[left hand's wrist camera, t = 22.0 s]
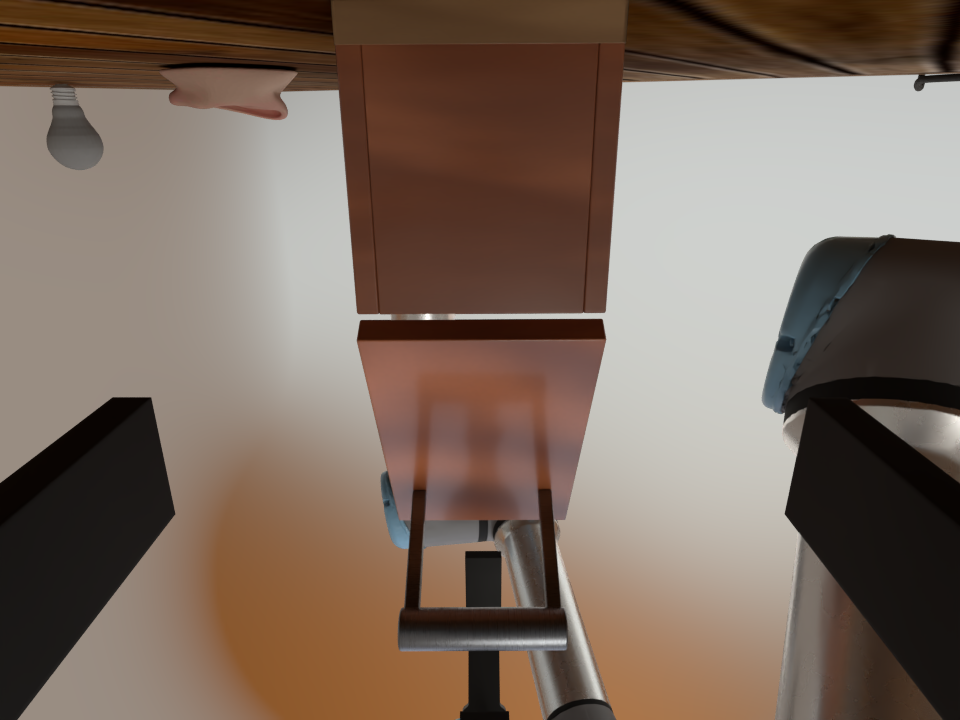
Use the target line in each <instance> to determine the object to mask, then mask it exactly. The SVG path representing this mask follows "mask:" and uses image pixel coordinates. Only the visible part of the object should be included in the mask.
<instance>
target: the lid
mask: <svg viewBox="0 0 960 720" xmlns="http://www.w3.org/2000/svg"><path fill="white" fill-rule="evenodd" d="M605 343H606V335H605V329H604V324H603V320H602V319H487V320H486V319H485V320H484V319H483V320H361V321H360V324H359V330H358V337H357V344H358V348H359V352H360V356H361V360H362V365H363V369H364V373H365V377H366V382H367V386H368V390H369V394H370V399H371V403H372V407H373V411H374V416H375V420H376V424H377V428H378V433H379V437H380V441H381V445H382V450H383V454H384V458H385V462H386V466H387V471H388V475H389V479H390V483H391V488H392V492H393V496H394V500H395V505H396V509H397V513H398V517H399V520H400V521H401V520H411V521H410V535H409V549H408V563H407V577H406V591H405V605H404V608H401V610H400V614H399V621H398V647H399V650H400V651H538V650H567V647H568V623H567V615H566V610H565V608H564V607H561V597H560V585H559V573H558V561H557V550H556V538H555V526H554V520H565V518H566V514H567V510H568V505H569V501H570V496H571V492H572V488H573V483H574V479H575V474H576V470H577V466H578V461H579V457H580V452H581V448H582V444H583V439H584V435H585V431H586V426H587V422H588V417H589V413H590V408H591V404H592V400H593V395H594V391H595V387H596V382H597V378H598V373H599V369H600V365H601V360H602V356H603V351H604V347H605ZM425 520H539V521H540V536H541V550H542V565H543V580H544V594H545V607H440V608H439V607H437V608H436V607H435V608H420V602H421V584H422V566H423V549H424V531H425Z"/></svg>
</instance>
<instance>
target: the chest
mask: <svg viewBox="0 0 960 720" xmlns="http://www.w3.org/2000/svg"><path fill="white" fill-rule="evenodd" d="M628 7H629V0H331V11H332V23H333V35H334V45H335V50H336V62H337V74H338V86H339V98H340V111H341V123H342V134H343V147H344V159H345V171H346V183H347V196H348V208H349V220H350V232H351V245H352V257H353V269H354V281H355V293H356V306H357V313H358V314H379V313H380V314H527V313H528V314H529V313H530V314H531V313H583V312H584V313H605V311H606V300H607V286H608V272H609V258H610V245H611V231H612V217H613V203H614V189H615V176H616V162H617V148H618V134H619V121H620V107H621V93H622V79H623V65H624V52H625V43H626V35H627V21H628Z"/></svg>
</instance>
